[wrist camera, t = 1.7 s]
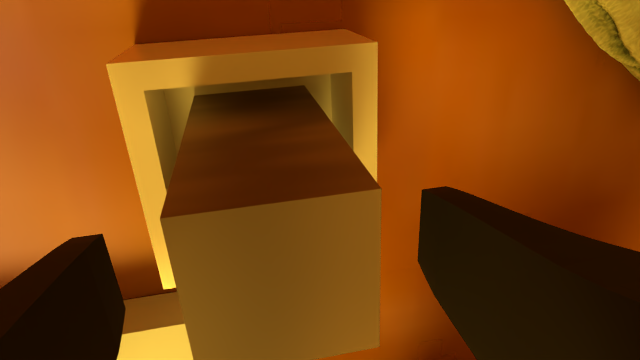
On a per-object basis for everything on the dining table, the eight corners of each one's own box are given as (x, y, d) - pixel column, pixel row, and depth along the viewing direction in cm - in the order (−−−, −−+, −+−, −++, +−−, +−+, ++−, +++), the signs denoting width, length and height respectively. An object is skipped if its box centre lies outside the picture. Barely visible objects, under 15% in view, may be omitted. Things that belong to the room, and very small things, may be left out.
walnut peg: (304, 85, 16) (381, 188, 8) (310, 182, 18) (379, 346, 10) (194, 95, 16) (159, 218, 7) (211, 194, 17) (198, 381, 9)
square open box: (344, 28, 16) (377, 42, 13) (348, 205, 20) (376, 255, 16) (134, 44, 15) (105, 64, 12) (175, 229, 18) (163, 289, 15)
